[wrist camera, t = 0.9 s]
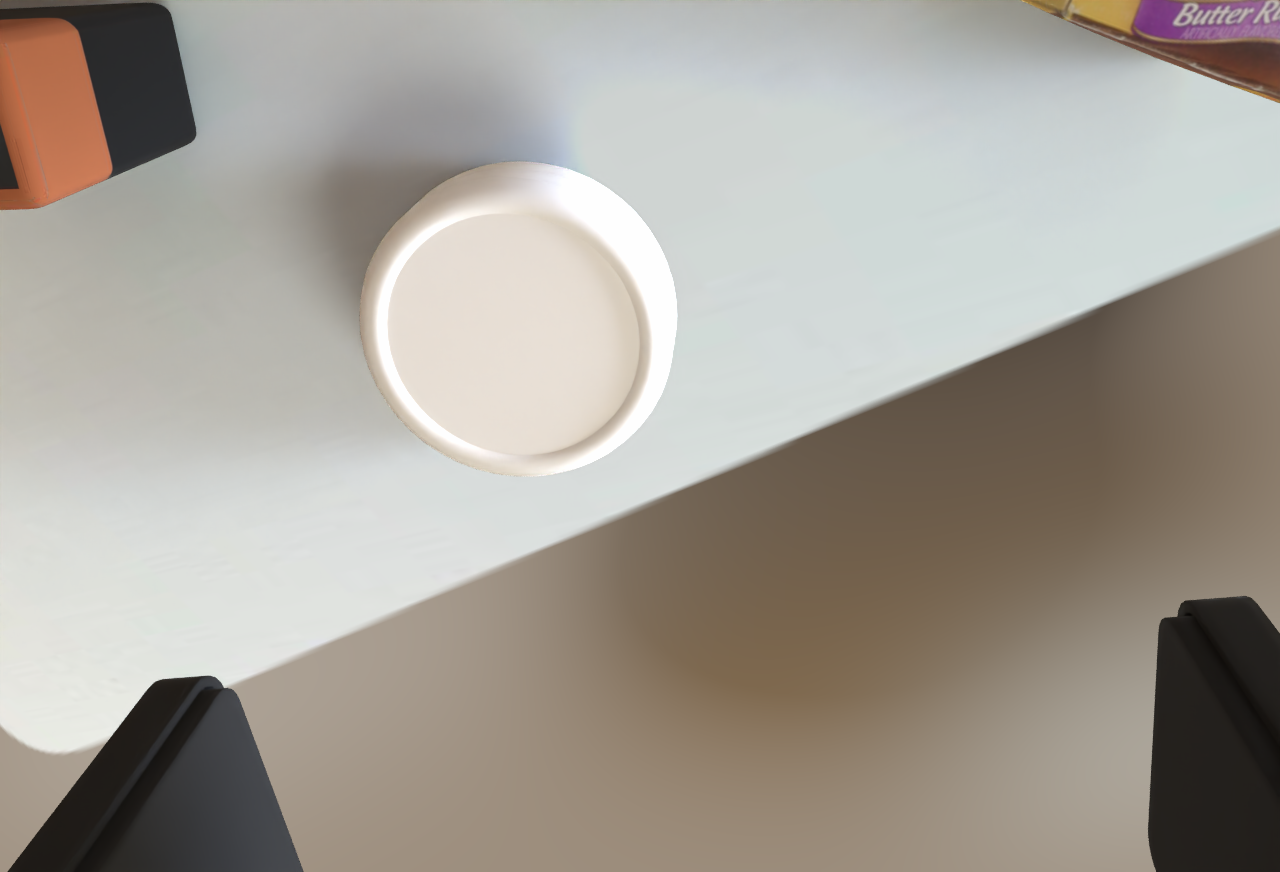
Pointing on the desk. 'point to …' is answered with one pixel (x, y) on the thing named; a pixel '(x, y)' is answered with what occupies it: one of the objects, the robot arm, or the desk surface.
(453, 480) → the desk surface
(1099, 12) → the candy box
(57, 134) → the battery
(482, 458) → the white thick disc
